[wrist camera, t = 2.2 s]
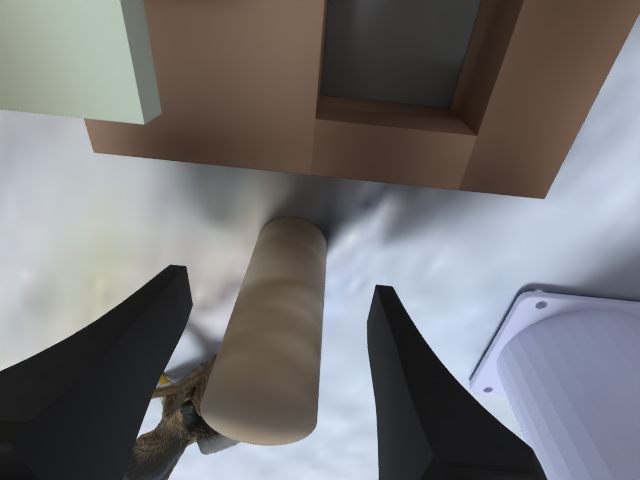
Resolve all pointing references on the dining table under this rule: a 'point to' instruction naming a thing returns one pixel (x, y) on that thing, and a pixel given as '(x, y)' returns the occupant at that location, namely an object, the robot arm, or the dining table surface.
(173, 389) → the eagle figurine
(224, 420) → the peg
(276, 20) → the socket deck
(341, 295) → the dining table surface
